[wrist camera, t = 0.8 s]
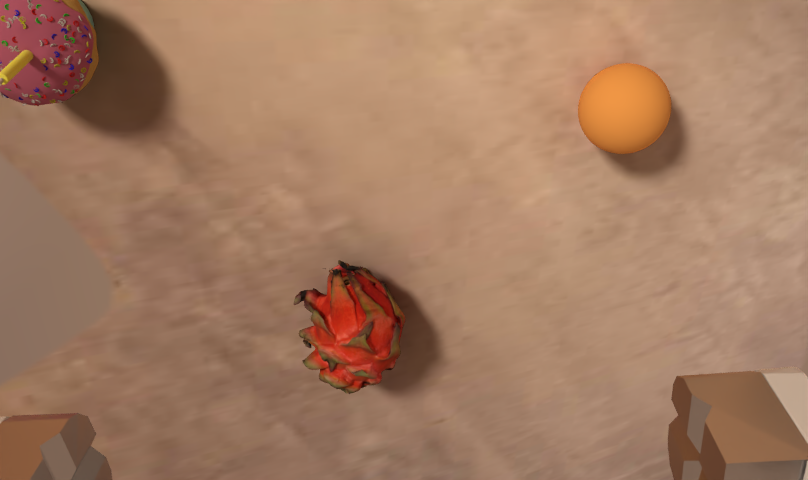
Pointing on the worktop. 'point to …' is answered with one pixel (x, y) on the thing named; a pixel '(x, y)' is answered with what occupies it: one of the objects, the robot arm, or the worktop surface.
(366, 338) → the dragon fruit
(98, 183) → the worktop surface
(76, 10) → the cupcake
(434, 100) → the worktop surface
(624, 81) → the ball
